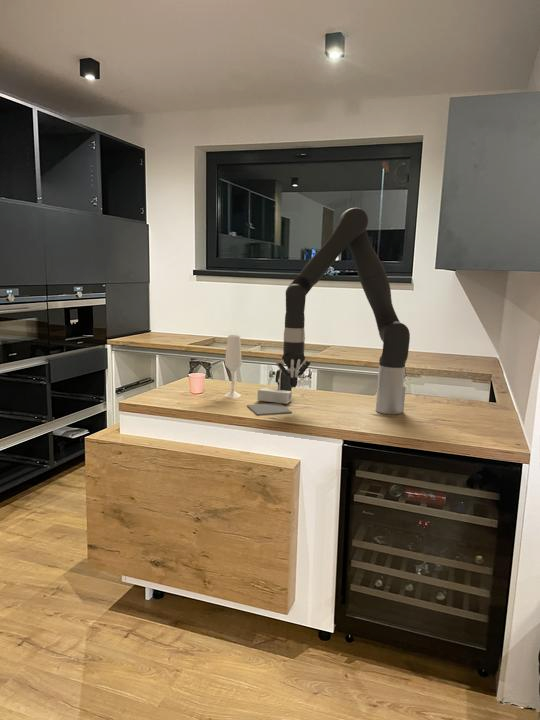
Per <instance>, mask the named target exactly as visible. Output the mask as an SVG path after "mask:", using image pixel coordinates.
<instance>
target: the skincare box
mask: <svg viewBox="0 0 540 720" xmlns="http://www.w3.org/2000/svg"><path fill="white" fill-rule="evenodd" d="M292 393H293V391H292V390H291V391H285V390H278V389H275V388H265V387H262V388H260V389H258V390H257V397H256V398H257V401H260V402H269V403H281V404H286V405H287V404H289V403H292V397H293V396H292Z"/></svg>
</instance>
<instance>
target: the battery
mask: <svg viewBox="0 0 540 720" xmlns="http://www.w3.org/2000/svg"><path fill="white" fill-rule="evenodd" d="M284 368H285V369H286V370H287V372H288V369H287V367H284ZM275 383H277V390H285V391H292V389H293V388H292V387H290V385H289V377H288V376H286V375H284V374H283V372H282V371H281V370H280V368H279V369H277V370H276V372H275Z"/></svg>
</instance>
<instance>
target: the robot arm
mask: <svg viewBox="0 0 540 720" xmlns="http://www.w3.org/2000/svg"><path fill="white" fill-rule="evenodd" d="M368 224H369V218H368V215H367V212H366V211H364V209H362V208H360V207H352V208H348V209H347V210H345V211H343V213H342V214H341V215H340V217H339V221H338V226H336V229H335V230H334V232H333V234H332V235H330V237H329V239H328V240H327V241H326V242H325V243H324V244H323V245H322V246H321V247H320V248H319V249H318V251H317V252H315V253H314V255H313V256H312V257H311V258H310V259H309V260H308V262H306V264H305V266H303V268H302V269H301V271H300V273H299V274H298V275H297V276H296V277H295V278H294V279H293V280H292V282H291V283H290V284H289V285H288V286H287V288H286V290H285V315H284V331H283V355H282V357H281V360H280V361H277V362H276V366H277V367H278V368H279V369H280V370H281V371H282V372H283V374H284V375H286V376H288V377H289V385H290V387H292V389H293V388H297V386H298V377H299V376H303V374H304V373H305V372H306V371H307V369H308V367H309V366H310V364H311V362H310V361H308V360H307V359H306V356H305V342H306V341H305V340H306V335H305V318H306V317H305V309H306V296H307V294H308V293H309V292H310V291H311V290H312V288H313V287H314V286H315V285H316V284H317V283H318V282H320V280H321V279H322V278H323V277H324V275H325V274H326V273H327V271H328V270H329V269H330V267H332V265H333V264H334V262H336V260H337V258H338V257H339V256H340V255H341V254H342V253H343V252H344V251H345V249H346V248H347V247H349V250H350V251H351V255H352V258H353V263H354V266H355V269H356V272H357V276H358V279H359V281H360V284H361V286H362V289H363V292H364V294H365V296H366V299H367V301H368V303H369V306H370V307H371V310H372V312H373V315H374V319H375V323H376V327H377V331H378V335H379V337H380V340H381V341H382V343H383V344H382V353H381V356H380V357H379V361H378V362H379V363H378V364H379V365H378V373H377V374H378V375H377V387H376V388H377V391H376V401H375V402H376V403H375V411H376V412H378V413H379V414H384V415H398V414H401V413H404V412H405V400H406V389H407V388H406V386H404V385H405V383H404V382H405V373H406V362H407V360H408V356H409V348H410V340H411V333H410V330H409V328H408V326H407V325H405V324H404V323H403V322H401V321H400V320H399V318H398V315H397V313H396V311H395V309H394V306H393V302H392V301H393V300H392V292H391V286H390V281H389V278H388V275H387V273H386V270H385V267H384V265H383V264H382V261H381V260H380V258H379V256H378V254H377V253H376V251H375V250H374V248H373V245H372V244H371V241H370V238H369V235H368V230H367V227H368ZM285 368H287V369H288V372H287V370H286V369H285Z"/></svg>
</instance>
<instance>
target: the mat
mask: <svg viewBox="0 0 540 720" xmlns="http://www.w3.org/2000/svg"><path fill="white" fill-rule="evenodd" d="M246 406H247V408H248V409H250V411H252V413H254V414H255V416H267V415H270V414H271V415H282V414H292V413H293V411H292V410H290V409H289V408H287V406H285V405H283V403H276V402H269V403H255V404H254V403H253V404H247V405H246Z"/></svg>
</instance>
